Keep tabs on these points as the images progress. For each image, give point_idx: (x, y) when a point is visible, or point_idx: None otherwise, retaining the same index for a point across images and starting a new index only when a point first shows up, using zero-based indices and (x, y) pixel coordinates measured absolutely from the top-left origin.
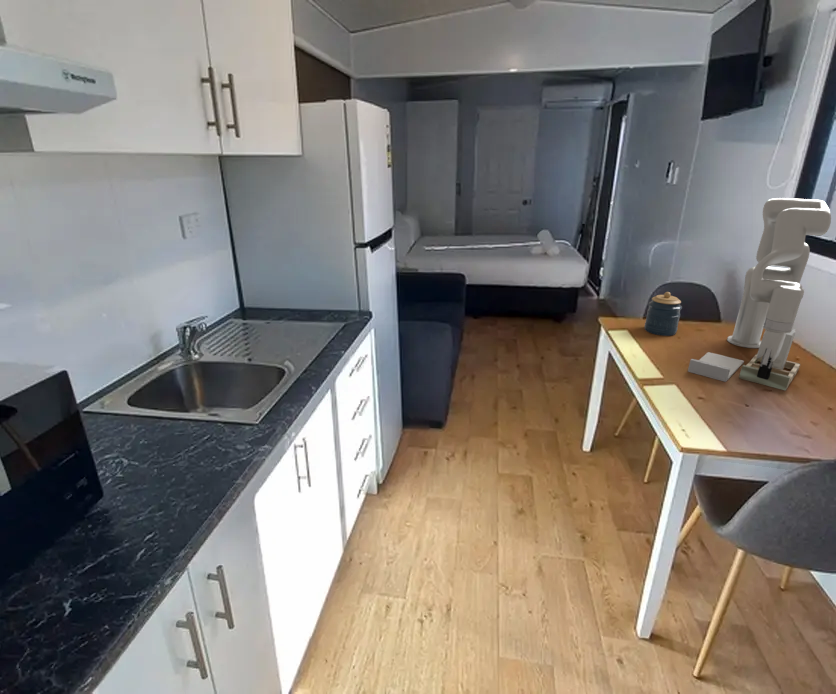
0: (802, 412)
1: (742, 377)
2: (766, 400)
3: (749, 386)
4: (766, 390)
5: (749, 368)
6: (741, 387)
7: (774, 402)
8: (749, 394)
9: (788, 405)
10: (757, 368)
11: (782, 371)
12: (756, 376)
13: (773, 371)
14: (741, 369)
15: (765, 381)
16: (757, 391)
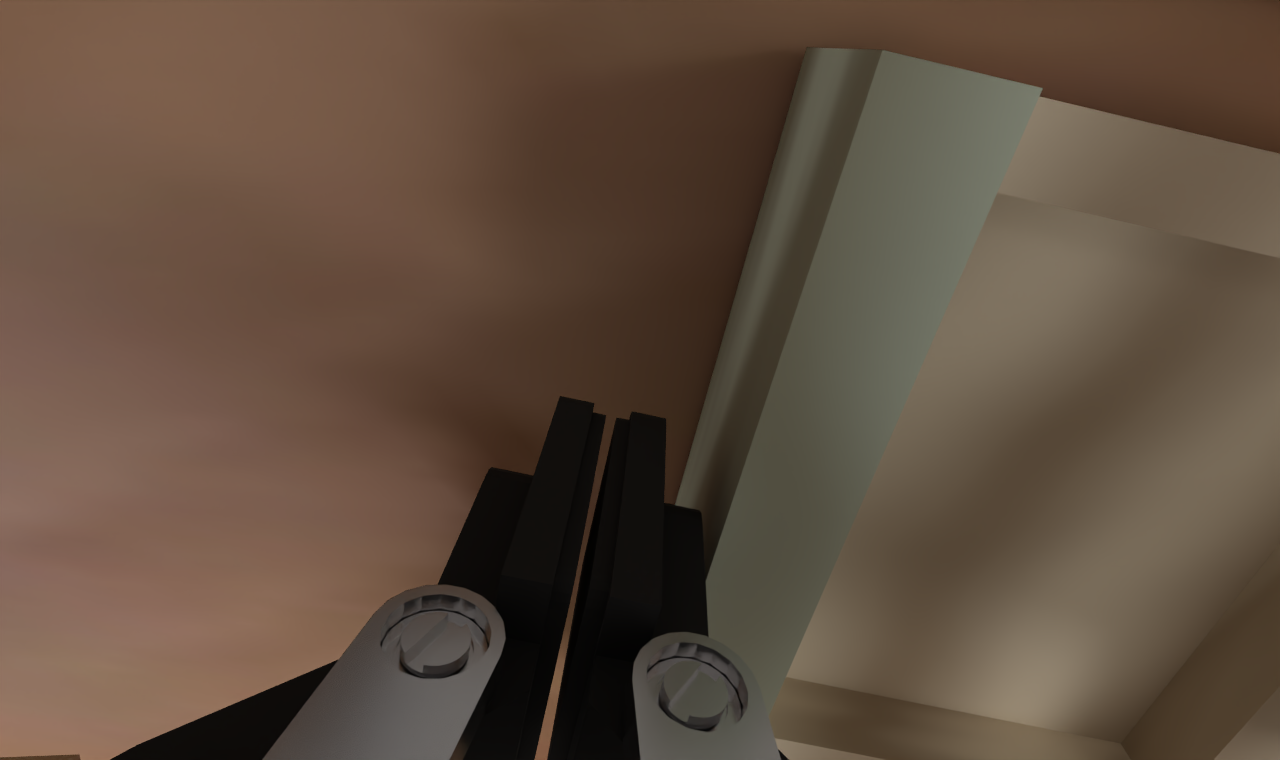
0: (97, 718)
1: (790, 118)
2: (104, 442)
3: (498, 242)
4: (497, 462)
5: (809, 266)
6: (345, 109)
7: (125, 520)
8: (123, 237)
9: (171, 635)
10: (873, 449)
11: (1216, 743)
12: (732, 379)
13: (1258, 624)
14: (848, 59)
15: (687, 490)
16: (358, 350)
